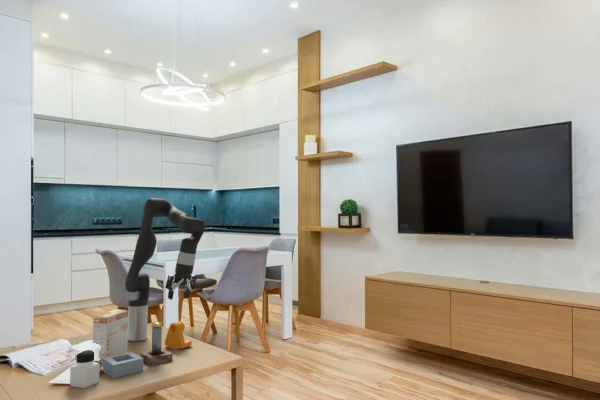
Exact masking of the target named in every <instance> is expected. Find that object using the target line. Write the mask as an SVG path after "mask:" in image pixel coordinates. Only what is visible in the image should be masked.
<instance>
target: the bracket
mask: <svg viewBox="0 0 600 400" xmlns="http://www.w3.org/2000/svg"><path fill="white" fill-rule="evenodd" d="M184 331H185V323H184V322H183V321H181V320H179V321H177V322H176V321H175V322H173V323H170V325H168V330H167V333H166V336H165V339H164V346H166V347H168V348H169V349H172V348H173V350H180V349H185V348H187V347H190V346H192V340H190V339H185V337H184V334H183V332H184Z"/></svg>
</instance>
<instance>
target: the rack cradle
mask: <svg viewBox="0 0 600 400" xmlns="http://www.w3.org/2000/svg"><path fill="white" fill-rule="evenodd" d="M102 367H103V371H104V373H105V374H106V375H107V376H109V377H111V378H112V379H115V378H119V377H124V376H128V375H132V374H136V373H141V372H143V371H144V362H143V358H142V357H140V355H138V354H136V353H134V352H133V351H127V353H123V354H118V355H113V356H108V357H103V358H102V362H101V368H102ZM103 371H102V372H103Z"/></svg>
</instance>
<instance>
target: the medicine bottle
mask: <svg viewBox="0 0 600 400" xmlns="http://www.w3.org/2000/svg"><path fill="white" fill-rule="evenodd" d="M75 355H76V357H75V358H76V359H75V360H76V361H75V362H76V363H75V364H74V365H72V366H70V368H69V369H70V371H69V372H70V374H69V386H70V387H74V388H81V389H87V388H88V387H91V386H93V385H95V384H97V383H100V362H94V352H93V350H91V349H90V350H89V349H85V350H81V351H78V352H77V353H76V354H75Z"/></svg>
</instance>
